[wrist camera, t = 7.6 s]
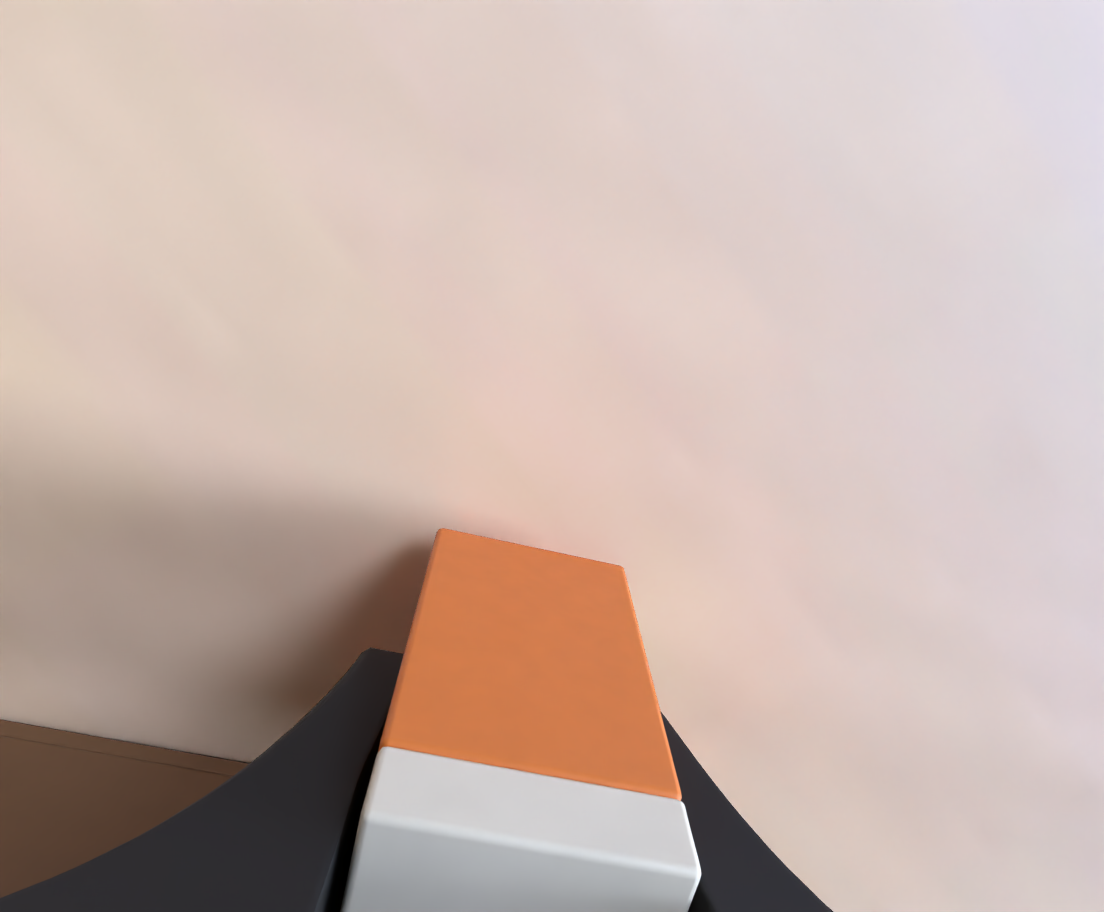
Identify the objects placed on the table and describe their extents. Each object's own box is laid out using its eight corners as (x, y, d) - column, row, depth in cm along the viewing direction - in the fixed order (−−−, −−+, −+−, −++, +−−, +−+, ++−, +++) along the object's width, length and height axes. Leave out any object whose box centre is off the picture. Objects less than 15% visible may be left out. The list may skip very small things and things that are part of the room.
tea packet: (625, 564, 14) (705, 874, 7) (562, 775, 15) (586, 1190, 9) (438, 525, 13) (359, 813, 7) (390, 743, 15) (289, 1149, 8)
